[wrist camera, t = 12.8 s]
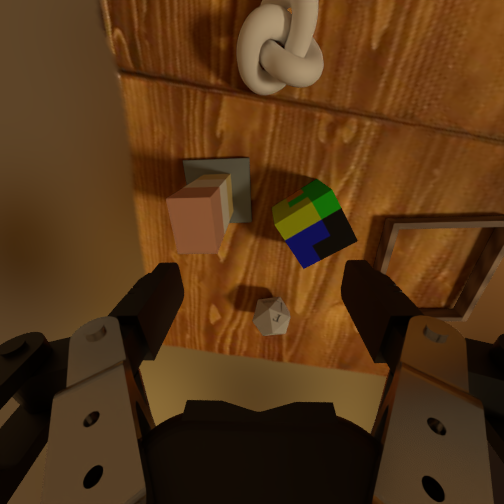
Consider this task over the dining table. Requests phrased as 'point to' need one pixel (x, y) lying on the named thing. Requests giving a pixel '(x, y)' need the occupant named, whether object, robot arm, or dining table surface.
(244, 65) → the white knot
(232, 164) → the baseplate
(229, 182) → the brick mustard
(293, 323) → the dining table surface
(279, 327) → the die
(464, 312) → the tray frame
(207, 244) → the brick terracotta
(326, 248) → the puzzle toy
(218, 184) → the brick white
